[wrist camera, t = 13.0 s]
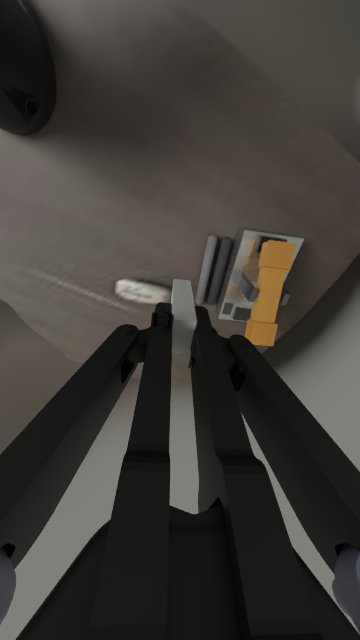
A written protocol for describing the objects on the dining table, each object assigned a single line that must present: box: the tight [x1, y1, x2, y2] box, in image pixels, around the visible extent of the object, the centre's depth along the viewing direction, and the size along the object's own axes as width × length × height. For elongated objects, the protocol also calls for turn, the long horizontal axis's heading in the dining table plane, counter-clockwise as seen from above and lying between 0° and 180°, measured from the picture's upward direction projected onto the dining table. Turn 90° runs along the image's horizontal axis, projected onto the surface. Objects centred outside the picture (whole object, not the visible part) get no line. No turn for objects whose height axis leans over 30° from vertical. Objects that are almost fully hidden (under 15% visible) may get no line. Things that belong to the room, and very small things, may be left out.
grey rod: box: [196, 235, 217, 304], centre depth 42 cm, size 16×2×2 cm, turn 172°
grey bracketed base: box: [216, 227, 304, 322], centre depth 39 cm, size 20×12×11 cm, turn 172°
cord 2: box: [207, 237, 231, 305], centre depth 42 cm, size 16×2×2 cm, turn 172°
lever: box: [245, 240, 296, 346], centre depth 35 cm, size 19×5×3 cm, turn 172°
